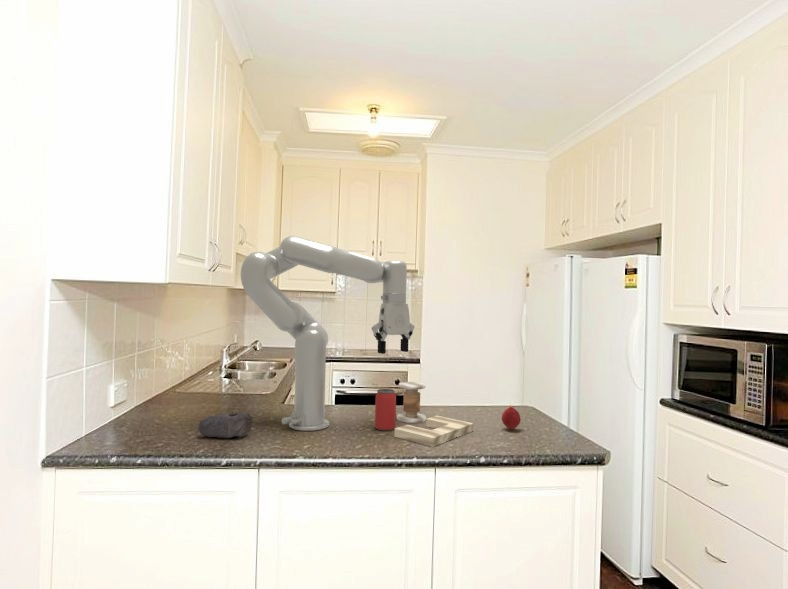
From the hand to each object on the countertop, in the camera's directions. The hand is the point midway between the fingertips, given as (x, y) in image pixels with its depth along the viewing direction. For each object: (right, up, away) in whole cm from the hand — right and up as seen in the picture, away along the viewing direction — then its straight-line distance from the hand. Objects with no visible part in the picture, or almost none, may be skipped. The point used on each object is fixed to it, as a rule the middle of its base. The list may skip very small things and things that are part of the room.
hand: (393, 352), depth 155 cm
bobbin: (+6, -24, +10) cm, 27 cm away
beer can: (-3, -24, -2) cm, 24 cm away
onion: (+38, -25, -1) cm, 45 cm away
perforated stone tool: (-49, -23, -16) cm, 56 cm away
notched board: (+13, -24, -7) cm, 28 cm away
